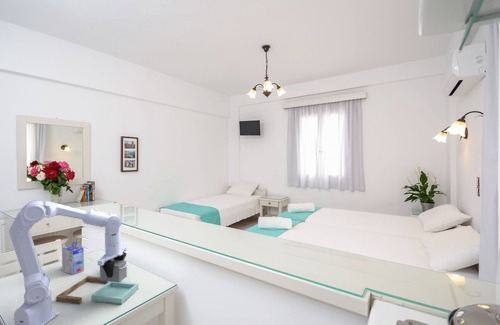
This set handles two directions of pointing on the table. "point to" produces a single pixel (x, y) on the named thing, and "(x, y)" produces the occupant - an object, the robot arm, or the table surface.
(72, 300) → the frame
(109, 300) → the tray
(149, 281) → the table surface
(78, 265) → the ink cartridge box
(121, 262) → the gray box with handle
